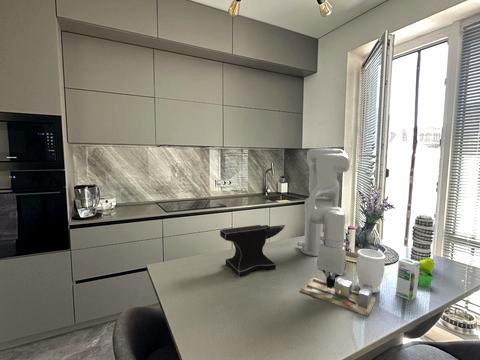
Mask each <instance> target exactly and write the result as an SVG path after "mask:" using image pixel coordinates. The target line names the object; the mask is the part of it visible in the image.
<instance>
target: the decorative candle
mask: <svg viewBox="0 0 480 360" xmlns="http://www.w3.org/2000/svg"><path fill="white" fill-rule="evenodd" d="M434 221H435V220H434V219H433V218H432V217H431V216H429V215H425V214H424V215H422V214H418V215H417V216H415V217H414V225H412V227H411V228H412V230H411V232H412V234H411V235H412V238H411V239H412V244H411V245H412V246H411V248H410V249H411V251H410V253H411V254H409V255H410V258H409V259H411V260H414V261H417V262H419V261H421V260H425V259H426V258H431V256H432V252H431V250H432V249H431V245H432V244H433V241H434V240H433V239H434V235H435V233H434V232H435V230H434Z"/></svg>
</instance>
